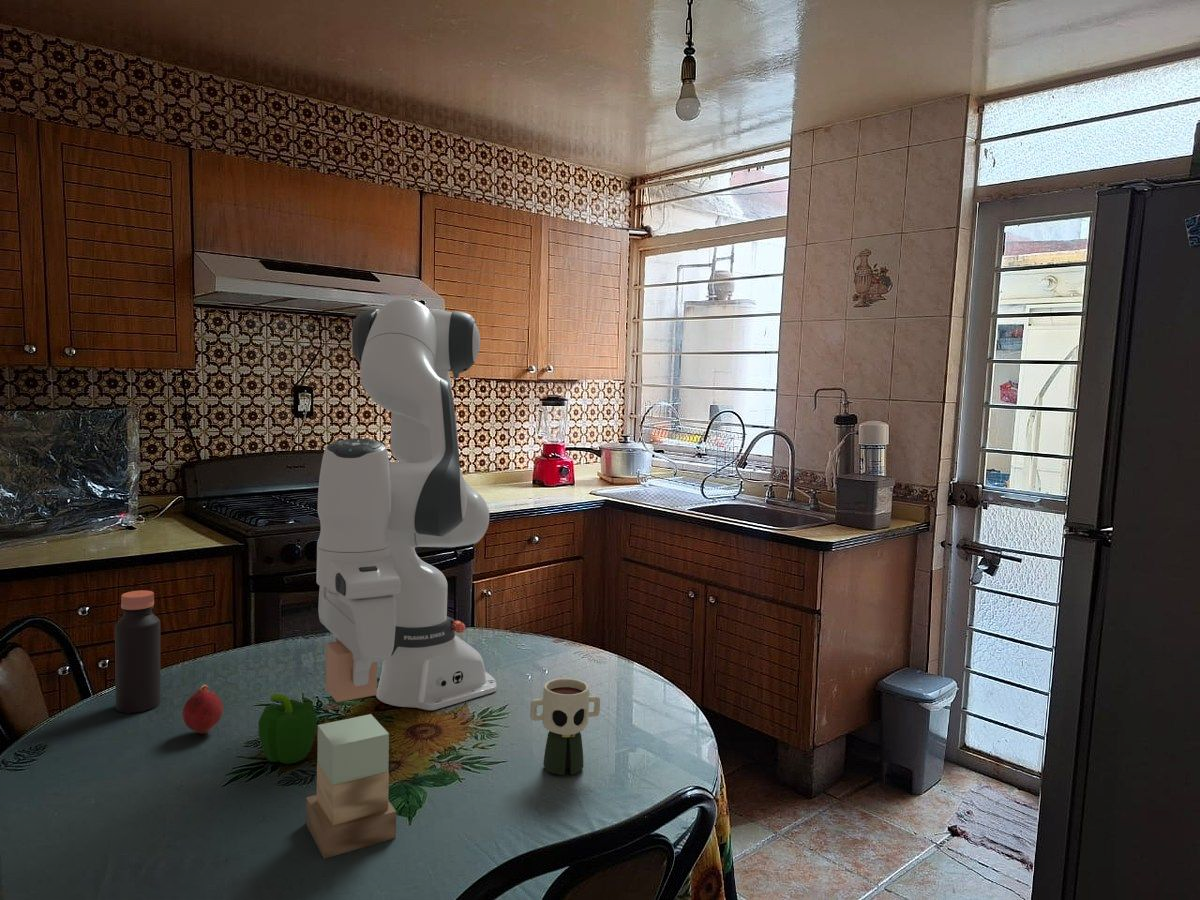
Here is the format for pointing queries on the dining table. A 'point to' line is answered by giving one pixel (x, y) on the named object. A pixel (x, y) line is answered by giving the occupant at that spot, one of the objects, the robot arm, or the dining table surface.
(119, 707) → the bottle
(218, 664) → the dining table surface
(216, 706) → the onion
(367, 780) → the oak cube
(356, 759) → the sage cube
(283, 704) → the bell pepper
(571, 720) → the character mug
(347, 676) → the terracotta block
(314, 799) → the walnut slab
